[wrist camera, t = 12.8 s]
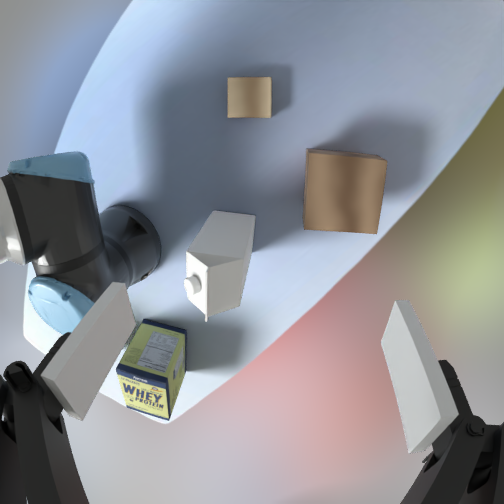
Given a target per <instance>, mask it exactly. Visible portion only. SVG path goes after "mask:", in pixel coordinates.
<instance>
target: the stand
mask: <svg viewBox="0 0 504 504" xmlns="http://www.w3.org/2000/svg"><path fill="white" fill-rule="evenodd" d="M271 110H272V79H271V77H230V78H228V118H241V117H249V118H271Z"/></svg>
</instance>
